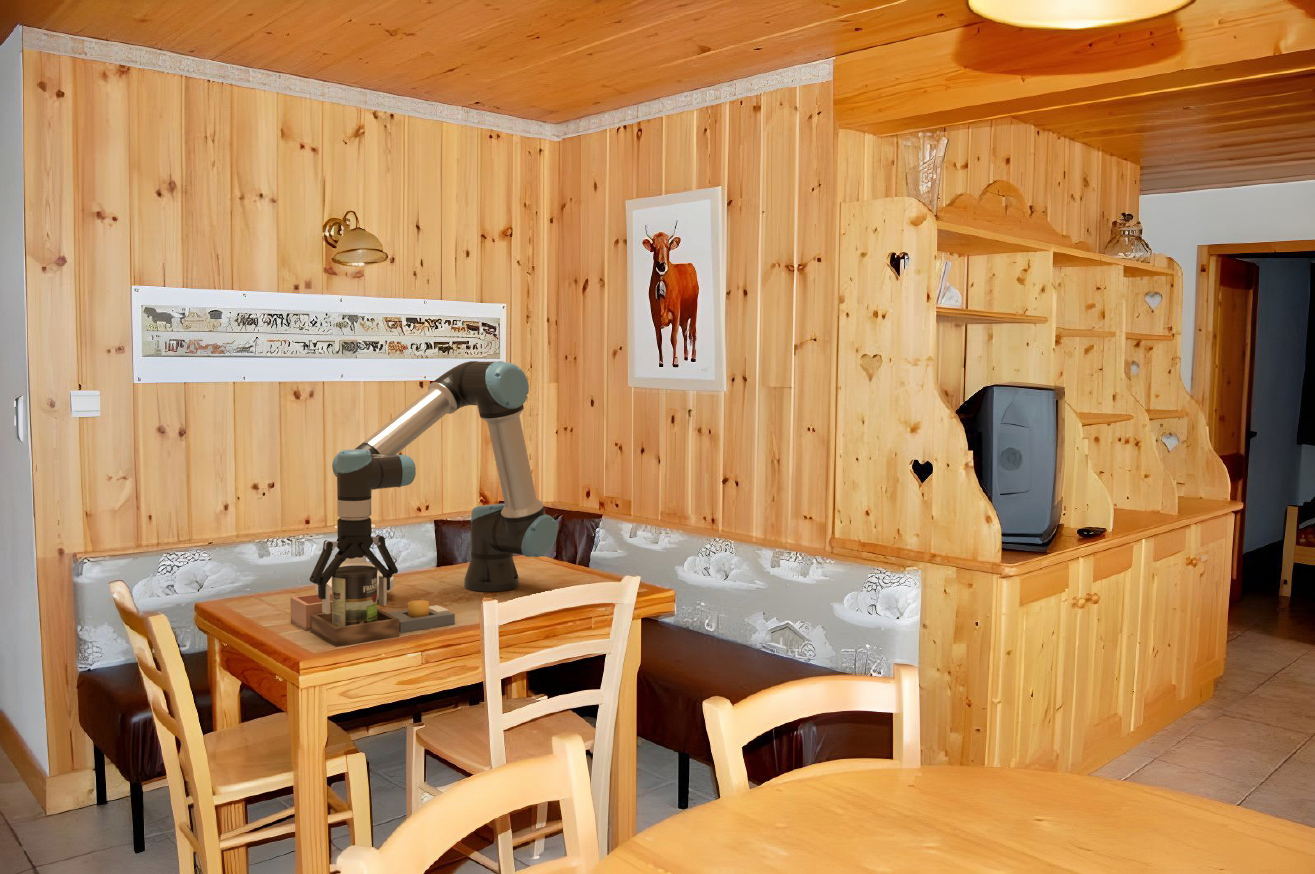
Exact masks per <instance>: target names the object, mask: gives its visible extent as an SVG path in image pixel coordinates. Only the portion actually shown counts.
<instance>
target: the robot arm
mask: <svg viewBox="0 0 1315 874" xmlns="http://www.w3.org/2000/svg"><path fill="white" fill-rule="evenodd" d="M529 389H530V385H529V381H528V377H527V376H526V374H525V372H524V371H523V369H522V368H521V367H520V366H518V365H516V364H514V363H512V362H506V361H478V360H475V361H474V360H470V361H466V362H463V363H460V364H458V365H456V366H454V367H452V368H450V369H449V370H448V371H446V372H444V373H443V374H441V375H440V376H439V377H437V378H436V379H435V380H434V381H432V382H431V383H430V384H429V385H428V387H427V391H426V392H425V393H424V394H422V395H420V397H418V398H417V399H416V400H415V401H413V402H412V403H411V404H410V405H409V406H407V407H406V408H404V409H403V410H402V411H401V412H400V413H398V414H397V415H396V416H395V417H393V418H392V419H391V420H389V421H388V422H387V423H385V424H384V425H383V426H381V428H380V429H378V430H377V431H376V432H374V433H373V434H372V435H371V436H369V437H368V438H367V439H366V440H364V441H362V443H360V444H359V445H357V447H355V448H354V449H343V450H340V451H339V452H338V453H337V454H335V456H334V457H333V460H332V465H331V468H332V473H333V474H334V475H335V477H336V490H337V491H336V496H337V501H336V503H337V504H336V507H337V508H336V511H337V513H336V514H337V516H338V517H339V518H338V519H336V520H337V522H336V523H337V524H336V526H337V529H336V531H337V532H336V533H337V538H336V541H334V540H333V541H331V540H328V539H325V540H324V541H323V545H322V551H321V554H320V555H319V557H318V560H317V562H316V563H315V566H314V569H313V570H312V573H311V574H310V577H309V582H311V583H312V584H314V585H315V584H318V592H317V594H318V597H319V599H321V600H322V612H323V613H325V614H330V585H328V584H327V582H328V581H329V580H330V578H331V577H332V576H333V574H334V573H335V572H336V570H337V569H338V568H339V566H340V565H341V564H342V562H344V561H345V560H346V559H347V558H349V559H353V558H356V557H358V558H362V557H363V556H366V559H367V561H368V562H370V563H372V564H373V565H374V566H375V567H376V568H377V569H378V571H379V572H380V573H381V574H382V575H383V576H379V599H378V604H379V605H381V606H383V607H386V606H387V605H388V604H387V602H388V600H387V599H388V597H387V596H388V593H387V590H390V578H391V577H392V576H393V575H395V574H398V572H399V569H398V567H397V565H396V563H395V562H394V559H393V557H392V555H391V553H390V551H389V550H388V548H387V547H388V546H387V545H386V539H385V536H383V535H380V534H376V535H375V536H373V537H372V530H371V524H372V518H371V516H372V492H373V491H375V490H380V489H389V488H390V489H391V488H402V487H406V486H409V485H411V484H412V483H413V482H414V480H415V479H416V475H417V473H416V472H417V471H416V469H417V468H416V463H415V462H414V460H413V458H412V457H411V456H409V455H407V454H399V453H400V452H401V451H402V450H404V449H405V448H406V447H408V446H409V445H410V444H411V443H412V442H414V441H415V440H416V439H417V438H419V437H420V436H421V435H422V434H423V433H425V432H426V431H427V430H428V429H429V428H431V427H432V426H433V425H435V424H436V423H437V422H438V421H440V420H441V419H442V418H443V417H444V416H446V415H447V414H448V415H451V414H454V413H455V412H457V410H459V409H461V408H464V407H468V406H476V407H477V409H478V414H479V418H480V419H482V420H483V421H485V422H486V423H487V428H488V432H489V437H490V442H491V447H492V451H493V457H494V461H495V465H496V470H497V474H498V478H499V482H500V483H499V484H500V489H501V492H502V498H503V501H504V503H494V504H493V503H492V504H483V505H478V506H475V507H473V509H472V510H471V516H470V517H471V518H470V561H469V564H468V566H467V570H466V573H465V576H464V588H465V589H466V590H470V591H475V592H492V593H493V592H504V591H511V590H515V589H517V588H518V587H519V586H520V577H519V574H518V571H517V567H516V565H515V564H516V563H515V562H514V555H520V556H524V557H526V558H540V557H543V556H545V555H546V554H548V553H549V552H550V551H551V549H552V548H553V546H554V543H555V542H556V540H557V537H558V536H557V535H558V524H557V522H556V520H555V519H554V517H552V516H551V515H549V514H546V510H545V506H544V502H543V501H541V500H539V499H538V498H537V493H536V490H535V485H534V480H533V476H532V475H533V474H532V470H531V465H530V460H529V456H528V455H529V454H528V452H527V451H528V450H527V446H526V441H525V440H526V439H525V436H524V432H523V427H522V422H521V417H520V416H521V414H522V413H523V411H524V409H525V408H524V407H525V406H524V403H526V401H527V399H528V396H527V395H528V394H529V391H530V390H529ZM373 544H374V546H376V548H377V550H378V552H379V554H380V556H381V558H382V559H383V562H384V563H385V565H386V566H385V565H384V564H383V563H382V562H381V561H380V560H379V559H378V557H377V556H376V555H375V553H374V552H373V551H372V550H371V547H372V545H373ZM335 548H337V549H338V551H337V552H336V554H334V557H333V559H332V561H330V563H329V560H330V558H331V556H332V552H333V551H334V550H335ZM328 563H329V564H328ZM326 566H327V567H326Z"/></svg>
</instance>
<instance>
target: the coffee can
mask: <svg viewBox="0 0 1315 874" xmlns="http://www.w3.org/2000/svg"><path fill="white" fill-rule="evenodd" d="M377 572H378V569H377V568H376V567H373V566H364V565H354V566H343V567H339V568H338V569H337V570H336V572H335V573H334V574H333V576H332V624H333V625H335V626H337V627H343V626H350V625H356V624H363V623H369V622H376V621H377V609H378V600H377Z"/></svg>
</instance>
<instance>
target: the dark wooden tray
mask: <svg viewBox="0 0 1315 874" xmlns="http://www.w3.org/2000/svg"><path fill="white" fill-rule="evenodd" d="M387 613H388V612H385V611H382V610H381V609H379V608H377V621H376V622H369V623H363V624H356V625H350V626H343V627H337V626H335V625H333V624H332V612H330V614H325V613H320V614H313V615H310V619H311V630H310V633H312V634H313V635H315V636H317V637H318V638H320V639H322V640H324V641H325V642H327V643H329V644H330V645H333V646H334V647H341V646H348V645H354V644H361V643H366V642H372V641H378V640H384V639H390V638H392V639H393V638H397V637H400V632H399V619H398V618H396V617H394V616H392V615H389V614H387Z"/></svg>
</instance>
